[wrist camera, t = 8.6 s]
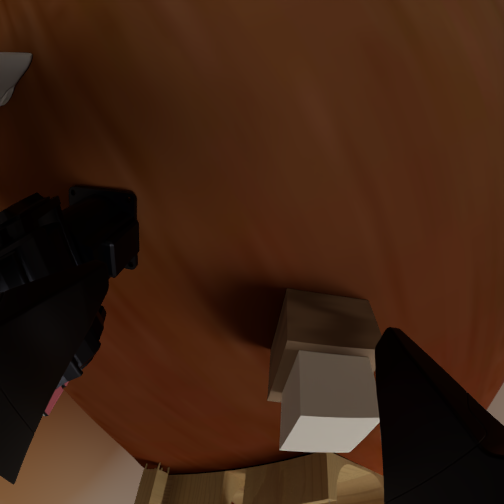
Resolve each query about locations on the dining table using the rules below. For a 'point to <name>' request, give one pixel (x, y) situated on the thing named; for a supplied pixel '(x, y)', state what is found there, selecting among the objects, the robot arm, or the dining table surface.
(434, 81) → the dining table surface
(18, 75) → the tall pale column
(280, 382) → the walnut block
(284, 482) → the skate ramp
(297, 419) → the cream block
